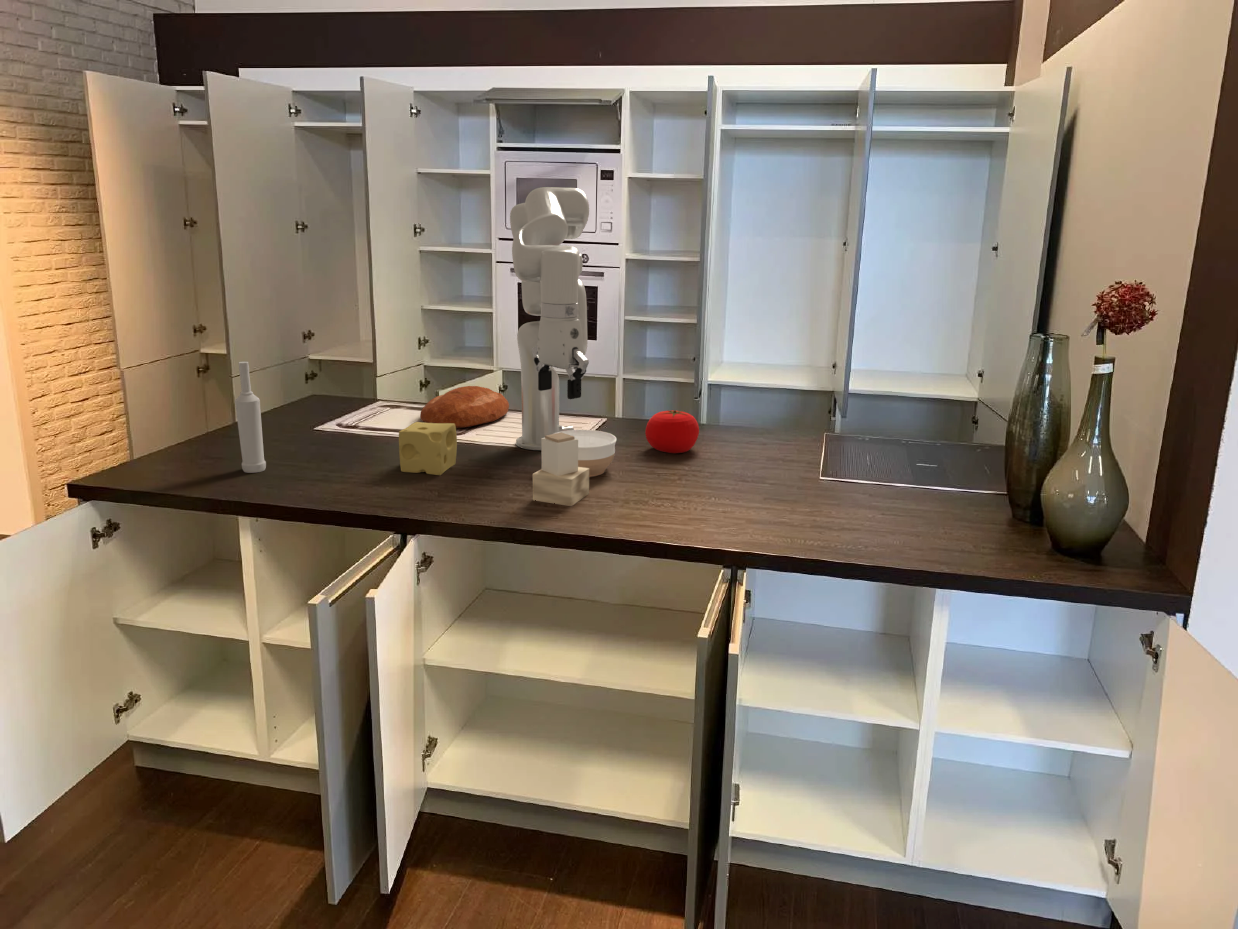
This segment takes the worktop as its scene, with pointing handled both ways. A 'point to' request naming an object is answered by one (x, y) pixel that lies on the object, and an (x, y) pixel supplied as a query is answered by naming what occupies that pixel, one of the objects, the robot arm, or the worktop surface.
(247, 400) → the bottle
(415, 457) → the cheese
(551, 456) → the white cube
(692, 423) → the tomato
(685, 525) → the worktop surface
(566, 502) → the block
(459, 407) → the bread
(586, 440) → the bowl
